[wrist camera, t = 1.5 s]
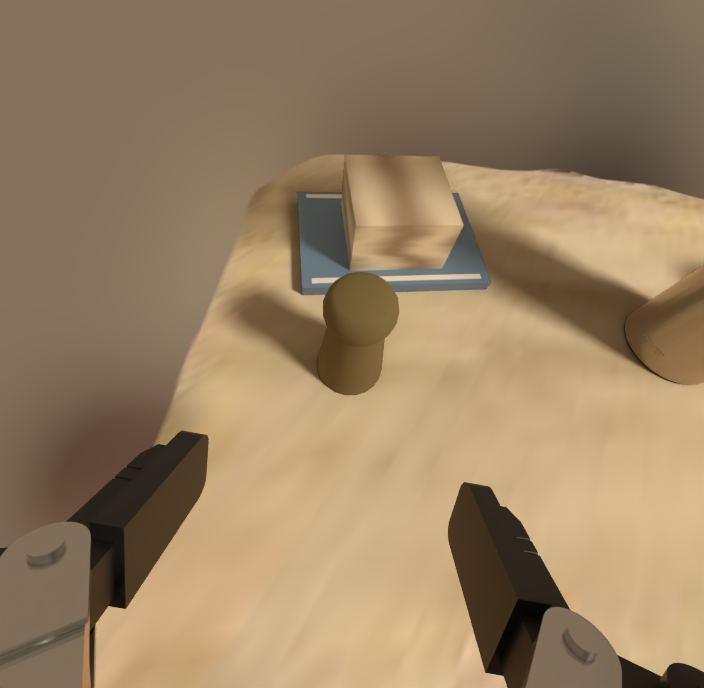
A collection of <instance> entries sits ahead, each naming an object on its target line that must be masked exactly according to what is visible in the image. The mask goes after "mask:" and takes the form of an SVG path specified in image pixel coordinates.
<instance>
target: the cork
mask: <svg viewBox="0 0 704 688" xmlns="http://www.w3.org/2000/svg"><path fill="white" fill-rule="evenodd" d="M398 315H399V304H398V298H397V296H396V294H395V292H394V290H393V288H392V287H391V286H390V285H389V284H388V283H387V282H386V281H385V280H384V279H382V278H381V277H379V276H377V275H375V274H372V273H368V272H353V273H349V274H346V275H344V276H342V277H341V278H339V279H337V280H336V281H335V282H334V283H333V284H332V285H331V286H330V287H329V289H328V291H327V293H326V295H325V298H324V300H323V317H324V319H325V322H326V325H327V330H326V333H325V336H324V339H323V343H322V346H321V349H320V352H319V355H318V358H317V370H318V373H319V376H320V378H321V380H322V381H323V382H324V384H325V385H326V386H327V387H328V388H330V389H331V390H333V391H334V392H337V393H340V394H343V395H357V394H361V393H364V392H366V391H367V390H369V389H370V388H372V387H373V386H374V385H375V383H376V382H377V380H378V379H379V377H380V373H381V369H382V359H383V350H384V340H385V338H386V337H387V336H388V335H389V334H390V333H391V331H392V330H393V328H394V327H395V325H396V323H397V319H398Z"/></svg>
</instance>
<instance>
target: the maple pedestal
mask: <svg viewBox="0 0 704 688" xmlns="http://www.w3.org/2000/svg"><path fill="white" fill-rule="evenodd" d="M341 207H342V214H343V222H344V230H345V237H346V245H347V252H348V260H349V267H350V271H365V270H406V269H442V268H443V266H444V264H445V262H446V260H447V258H448V256H449V254H450V252H451V250H452V248H453V246H454V244H455V242H456V240H457V238H458V236H459V234H460V232H461V230H462V228H463V226H464V225H463V222H462V219H461V216H460V214H459V211H458V208H457V205H456V202H455V200H454V197H453V194H452V191H451V189H450V186H449V183H448V180H447V177H446V175H445V172H444V169H443V166H442V163H441V161H440V158H439V157H434V156H433V157H432V156H388V155H387V156H385V155H345V159H344V172H343V185H342V198H341Z"/></svg>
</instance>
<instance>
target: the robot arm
mask: <svg viewBox="0 0 704 688" xmlns="http://www.w3.org/2000/svg"><path fill="white" fill-rule="evenodd" d="M625 333H626V338H627V340H628V342H629V345H630V347H631V348H632V350H633V351H634V353H635V354H636V356H637V357H638V358H639V359H640V360H641V361H642V362H643V363H644V364H645V365H646V366H647V367H648V368H650V369H651V370H652V371H654V372H655V373H657V374H658V375H660V376H662V377H664V378H666V379H668V380H670V381H673V382H676V383H679V384H686V385H694V384H700V383H702V382H704V265H703V266H702V267H700V268H699V269H697V270H696V271H694V272H692V273H691V274H689V275H688V276H686V277H685V278H683V279H682V280H680V281H679V282H677V283H676V284H674V285H673V286H671V287H670V288H668V289H667V290H665V291H663V292H662V293H660V294H659V295H657V296H656V297H654V298H653V299H651V300H650V301H648V302H647V303H645V304H644V305H642V306H641V307H639V308H638V309H636V310H635V311H633V312H632V313H631V314H630V315H629V316H628V317H627V320H626V322H625ZM207 457H208V436H207V435H204V434H198V433H193V432H187V431H180V432H179V433H178V434H177V435H176V436H175V437H174V438H173V439H172V440H171V441H170V442H169V443H168V444H167V445H160V444H158V445H156V446H154V447H152V448H150V449H148V450H146V451H144V452H142V453H140V454H139V455H138V456H137V457H136V458H135V459H134V460H133V461H131V462H130V463H129V464H128V465H127V467H126V468H124V469H123V470H122V471H121V472H120V473H119V474H117V475H116V477H115V479H112V480H111V481H110V482H109V483H108V484H106V485H105V486H104V487H103V488H102V489H101V490H100V491H99V492H98V493H97V494H96V495H95V496H94V497H92V498H91V499H90V500H89V501H88V502H87V503H86V504H85V505H84V506H83V507H81V509H79V511H77V512H76V513H75V514H74V515H73V516H72V517H71V518H70V519H69V520H67V521H66V522H58V523H53V524H49V525H46V526H43V527H40V528H38V529H35V530H33V531H31V532H29V533H27V534H26V535H24V536H22V537H20V538H19V539H18V540H17V541H15V542H14V543H12V545H10V546H9V547H7V548H0V688H95V668H96V622H97V621H98V620H99V618H100V617H101V615H102V614H103V613H104V611H105V610H106V608H107V607H108V606H112V607H118V608H124V609H126V608H127V606H128V605H129V603H130V602H131V600H132V599H133V597H134V596H135V594H136V593H137V591H138V590H139V588H140V587H141V585H142V584H143V582H144V580H145V579H146V577H147V576H148V574H149V573H150V571H151V570H152V568H153V567H154V565H155V564H156V562H157V561H158V559H159V558H160V556H161V555H162V553H163V552H164V550H165V549H166V547H167V546H168V544H169V543H170V541H171V540H172V538H173V537H174V535H175V534H176V532H177V531H178V529H179V527H180V526H181V524H182V523H183V521H184V520H185V518H186V517H187V515H188V514H189V512H190V511H191V509H192V508H193V506H194V505H195V503H196V502H197V500H198V499H199V497H200V495H201V493H202V490H203V488H204V485H205V481H206V472H207ZM448 540H449V545H450V548H451V552H452V555H453V559H454V563H455V566H456V570H457V573H458V577H459V580H460V584H461V587H462V591H463V595H464V598H465V602H466V605H467V609H468V612H469V616H470V620H471V623H472V627H473V630H474V634H475V637H476V641H477V644H478V648H479V652H480V655H481V659H482V662H483V666H484V669H485V673H490V674H496V675H502V676H504V678H505V681H506V684H507V687H508V688H704V672H702V671H700V670H698V669H696V668H694V667H692V666H689V665H686V664H682V663H673V664H671V665H669V667H668V668H667V670H666V671H665V673H664V674H663V676H662V677H661V676H659V675H657V674H655V673H653V672H651V671H649V670H647V669H645V668H643V667H641V666H639V665H636V664H634V663H632V662H630V661H628V660H626V659H624V658H622V657H620V656H618V655H617V654H616V652H615V650H614V649H613V647H612V645H611V644H610V643H609V641H608V640H607V639H606V637H605V636H604V635H603V634H602V633H601V632H600V631H599V630H598V629H597V628H596V627H595V626H594V625H593V624H592V623H590V622H589V621H588V620H587V619H585V618H584V617H582V616H581V615H579V614H577V613H575V612H573V611H571V610H570V609H569V607H568V605H567V603H566V602H565V600H564V598H563V596H562V594H561V593H560V591H559V589H558V587H557V586H556V584H555V582H554V580H553V578H552V577H551V575H550V573H549V571H548V570H547V568H546V566H545V564H544V562H543V561H542V559H541V557H540V556H538V552H537V550H536V548H535V546H534V545H533V543H532V542H531V541H530V538H529V536H528V534H527V532H526V530H525V529H524V527H523V525H522V523H521V522H520V521H519V520H518V519H517V518H516V517H515V516H514V515H513V514H512V513H511V511H510V510H509V509H508V508H507V507H502V506H500V504H499V502H498V500H497V498H496V496H495V495H494V493H493V491H492V489H491V488H490V487H489V486H483V485H478V484H472V483H467V482H464V483H463V484H462V485H461V487H460V490H459V493H458V496H457V499H456V502H455V505H454V508H453V511H452V515H451V518H450V521H449V526H448Z"/></svg>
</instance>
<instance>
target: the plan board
mask: <svg viewBox="0 0 704 688" xmlns="http://www.w3.org/2000/svg"><path fill="white" fill-rule="evenodd" d="M297 194H298V215H299V235H300V256H301V277H302V295H321V294H326V293H327V291H328V289H329V287H330V286H331V285H332V284H333V283H334V282H335V281H336V280H337V279H339V278H341V277H342V276H344V275H346V274H349V273H353V272H368V273H372V274H375V275H377V276H379V277H381V278H382V279H384V280H385V281H386V282H387V283H388V284H389V285H390V286H391V287H392V288H393V290H394V292H411V291H441V290H471V289H486V288H487V287H488V286H489V284H490V283H491V281H490V278H489V275H488V273H487V270H486V267H485V264H484V262H483V259H482V256H481V254H480V251H479V248H478V246H477V243H476V240H475V237H474V235H473V232H472V229H471V227H470V224H469V221H468V219H467V216H466V213H465V210H464V208H463V205H462V202H461V200H460V197H459V194H458V193H452V194H453V197H454V200H455V202H456V205H457V208H458V211H459V214H460V216H461V219H462V222H463V225H464V226H463V228H462V230H461V232H460V234H459V236H458V238H457V240H456V242H455V244H454V246H453V248H452V250H451V252H450V254H449V256H448V258H447V260H446V262H445V264H444V266H443V268H442V269H406V270H365V271H350V267H349V260H348V252H347V245H346V237H345V230H344V222H343V214H342V207H341V198H342V192H297Z"/></svg>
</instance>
